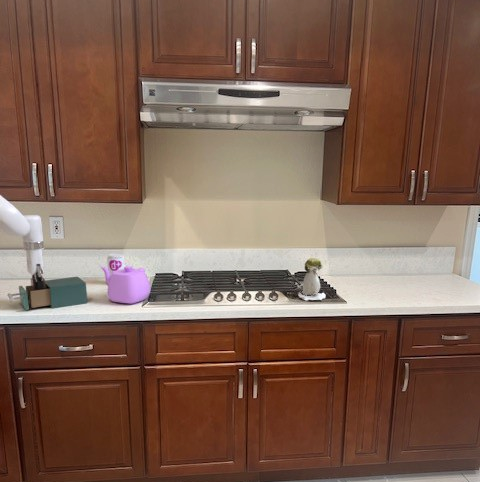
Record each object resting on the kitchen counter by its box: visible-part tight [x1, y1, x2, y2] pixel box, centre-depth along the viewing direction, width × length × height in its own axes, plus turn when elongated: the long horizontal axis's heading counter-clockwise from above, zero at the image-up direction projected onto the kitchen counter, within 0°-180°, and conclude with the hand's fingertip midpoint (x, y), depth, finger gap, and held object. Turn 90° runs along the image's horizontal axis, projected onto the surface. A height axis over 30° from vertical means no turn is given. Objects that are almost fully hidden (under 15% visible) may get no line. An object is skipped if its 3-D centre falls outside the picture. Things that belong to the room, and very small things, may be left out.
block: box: [30, 277, 46, 291], centre depth 193 cm, size 5×5×5 cm
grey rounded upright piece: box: [297, 257, 327, 302], centre depth 211 cm, size 12×13×18 cm
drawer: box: [6, 285, 51, 311], centre depth 193 cm, size 18×11×7 cm, turn 124°
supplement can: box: [106, 253, 126, 275], centre depth 228 cm, size 8×8×15 cm
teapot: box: [99, 265, 151, 305], centre depth 206 cm, size 23×21×15 cm
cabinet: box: [45, 276, 88, 309], centre depth 200 cm, size 15×13×9 cm
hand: (38, 288), depth 193 cm, fingers closed on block, 4 cm apart
